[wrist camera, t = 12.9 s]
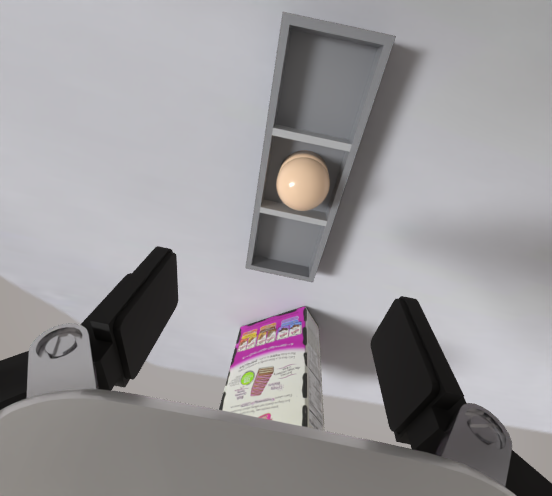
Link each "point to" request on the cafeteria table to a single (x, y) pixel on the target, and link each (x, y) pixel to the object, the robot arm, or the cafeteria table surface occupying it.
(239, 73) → the cafeteria table surface
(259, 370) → the candy bar box
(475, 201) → the cafeteria table surface
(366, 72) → the tray
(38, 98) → the cafeteria table surface
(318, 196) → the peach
